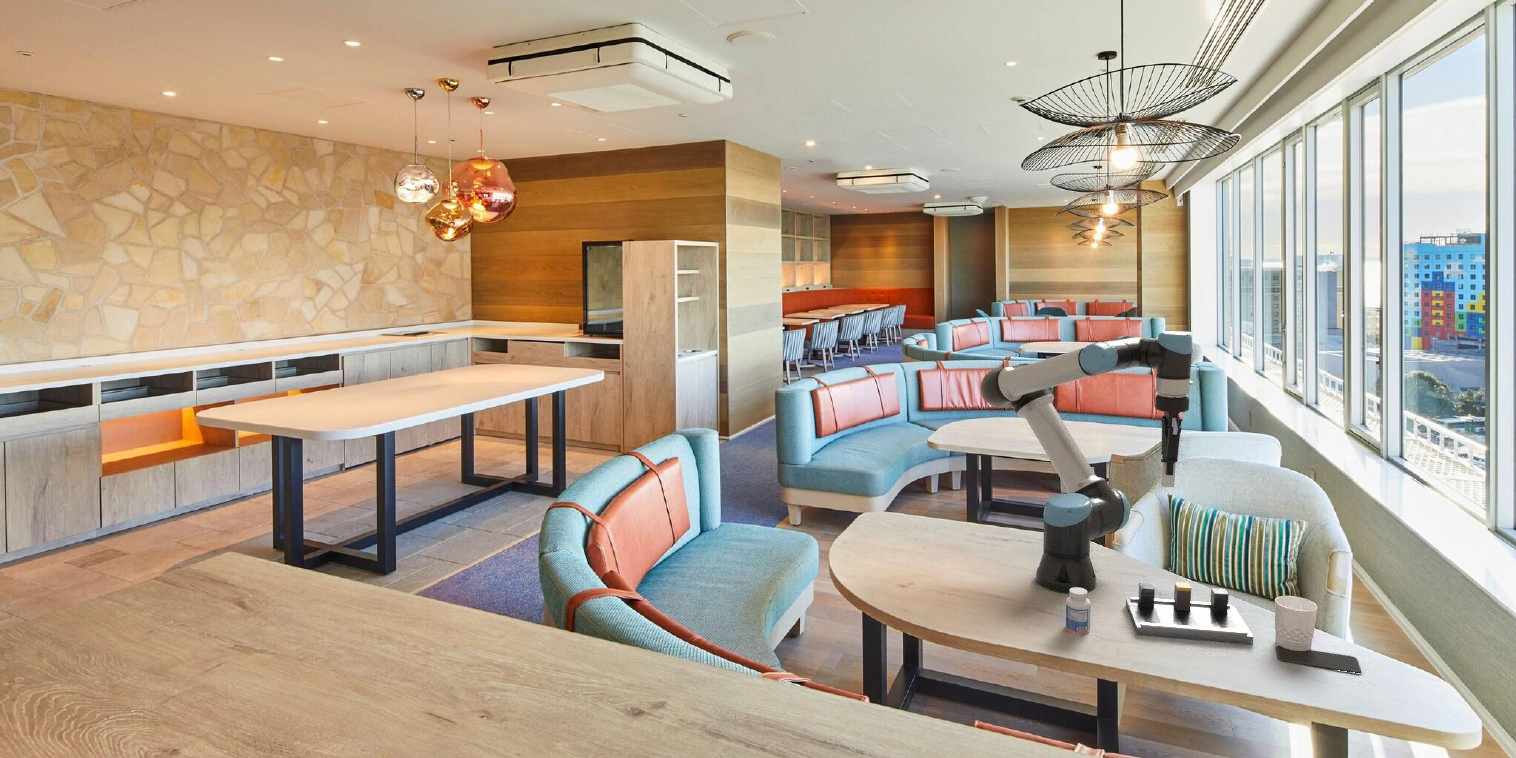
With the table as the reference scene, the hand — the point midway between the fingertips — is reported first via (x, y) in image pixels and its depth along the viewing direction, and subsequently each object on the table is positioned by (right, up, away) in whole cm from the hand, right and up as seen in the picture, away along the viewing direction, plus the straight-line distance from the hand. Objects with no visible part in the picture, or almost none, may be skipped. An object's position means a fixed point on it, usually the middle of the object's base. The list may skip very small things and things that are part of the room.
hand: (1167, 486), depth 207 cm
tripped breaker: (0, -28, -8) cm, 29 cm away
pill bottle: (-27, -33, -12) cm, 44 cm away
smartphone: (+17, -34, -30) cm, 49 cm away
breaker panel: (-1, -31, -12) cm, 33 cm away
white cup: (+16, -33, -23) cm, 43 cm away
